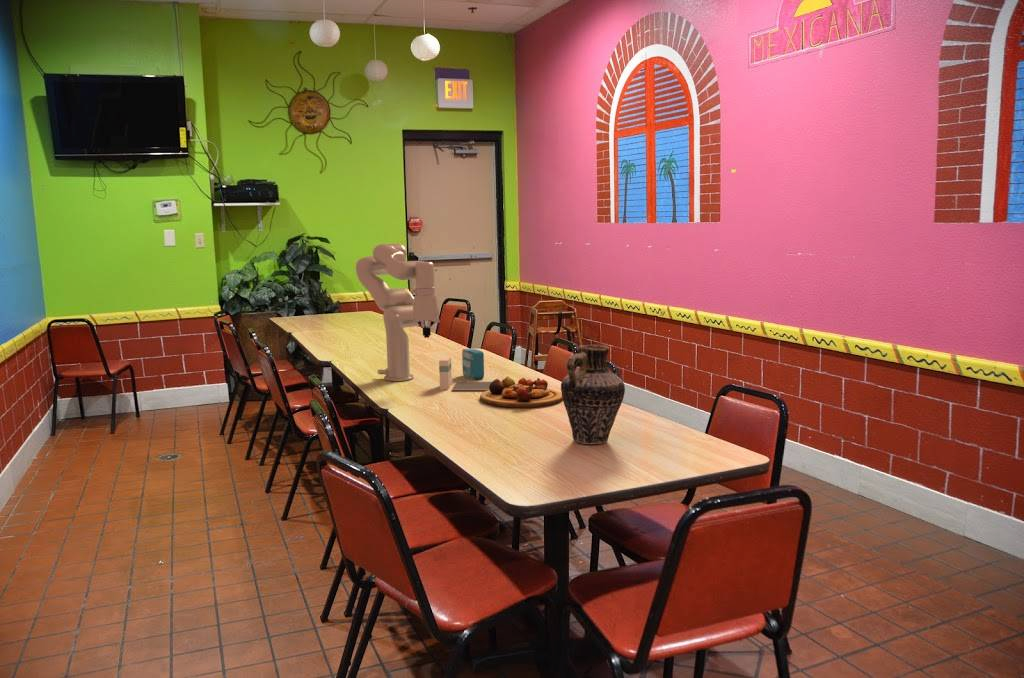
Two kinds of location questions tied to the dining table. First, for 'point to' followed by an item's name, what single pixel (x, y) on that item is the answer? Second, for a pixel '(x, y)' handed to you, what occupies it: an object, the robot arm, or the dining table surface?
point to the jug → (591, 395)
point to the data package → (473, 363)
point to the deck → (445, 372)
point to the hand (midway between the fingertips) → (426, 337)
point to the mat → (471, 386)
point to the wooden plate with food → (520, 393)
